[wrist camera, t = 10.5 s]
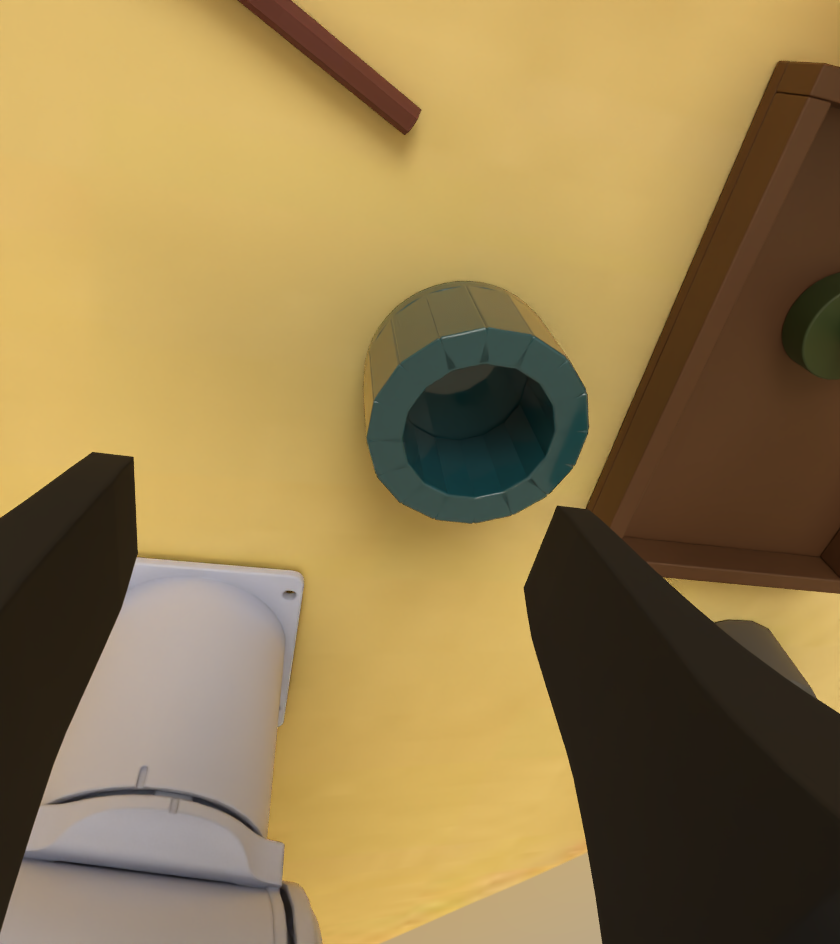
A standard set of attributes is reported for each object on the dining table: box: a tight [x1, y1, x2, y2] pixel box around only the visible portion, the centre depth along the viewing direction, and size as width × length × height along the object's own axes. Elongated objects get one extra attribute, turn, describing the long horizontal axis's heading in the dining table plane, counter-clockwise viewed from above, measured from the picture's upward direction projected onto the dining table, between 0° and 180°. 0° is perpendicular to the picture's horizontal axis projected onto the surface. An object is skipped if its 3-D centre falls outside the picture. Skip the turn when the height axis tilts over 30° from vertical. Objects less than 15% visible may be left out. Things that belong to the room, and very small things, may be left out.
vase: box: [363, 281, 589, 524], centre depth 20 cm, size 6×6×4 cm
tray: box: [587, 61, 840, 594], centre depth 22 cm, size 16×11×2 cm
